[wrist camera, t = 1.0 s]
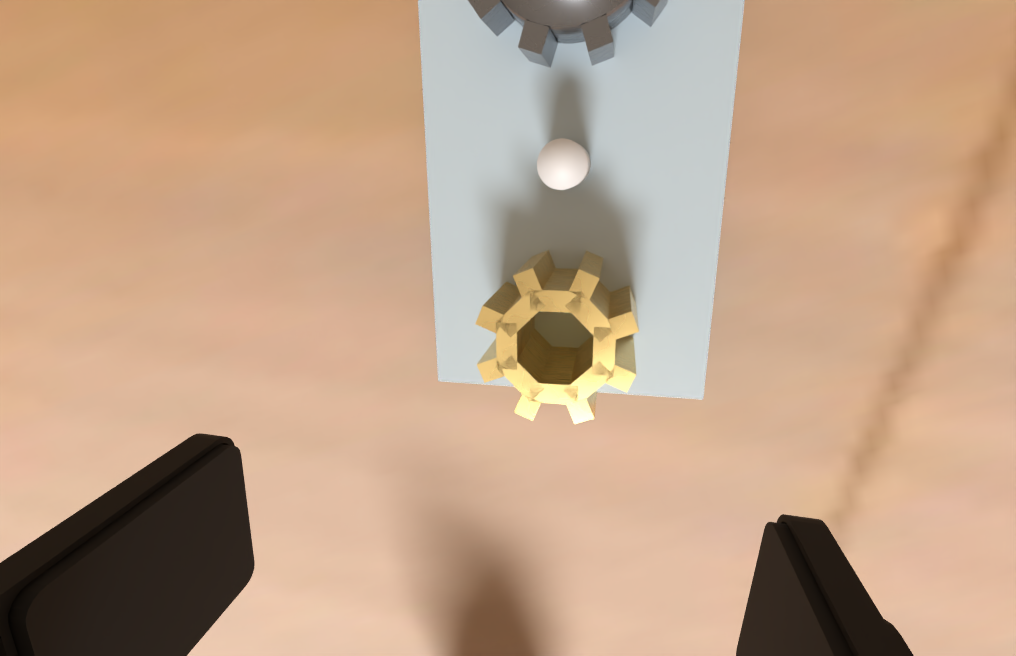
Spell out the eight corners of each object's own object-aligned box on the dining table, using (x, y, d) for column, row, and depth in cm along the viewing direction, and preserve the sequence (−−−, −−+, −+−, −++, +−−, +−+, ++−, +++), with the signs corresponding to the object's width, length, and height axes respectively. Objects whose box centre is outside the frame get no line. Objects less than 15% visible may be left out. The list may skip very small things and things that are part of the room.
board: (757, -221, 21) (813, -379, 15) (697, 384, 29) (718, 443, 22) (424, -173, 24) (356, -291, 18) (449, 368, 31) (407, 417, 25)
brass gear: (638, 251, 25) (643, 270, 21) (630, 383, 27) (633, 428, 23) (499, 248, 27) (473, 266, 22) (501, 375, 29) (478, 416, 24)
